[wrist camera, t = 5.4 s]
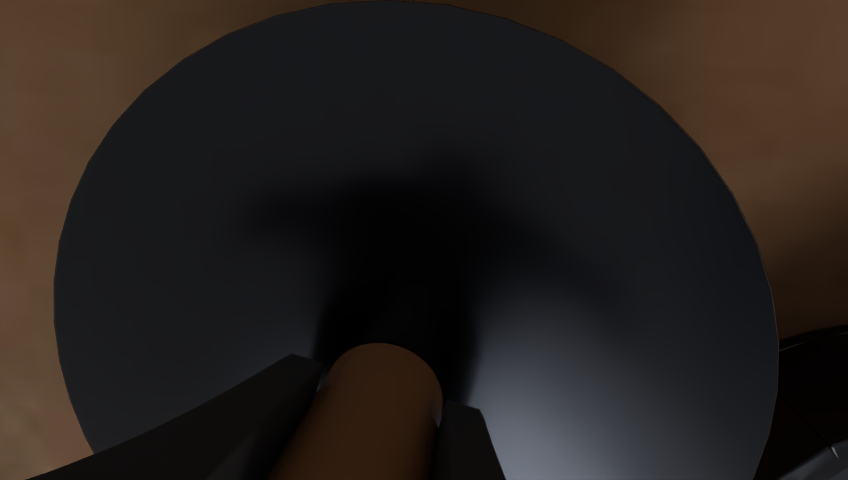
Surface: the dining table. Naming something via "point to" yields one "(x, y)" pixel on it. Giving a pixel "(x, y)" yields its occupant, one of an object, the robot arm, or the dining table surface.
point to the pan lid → (419, 254)
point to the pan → (810, 409)
